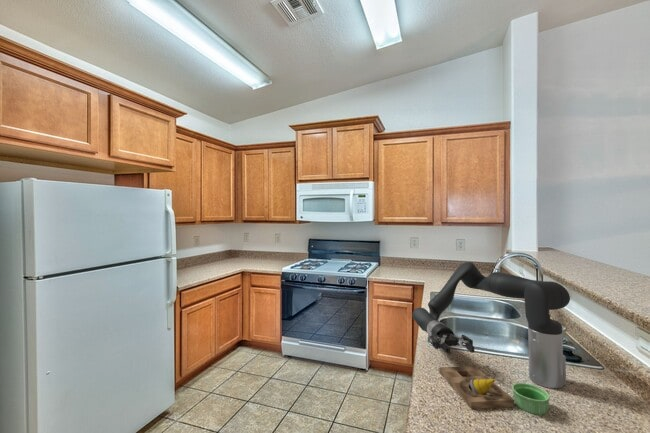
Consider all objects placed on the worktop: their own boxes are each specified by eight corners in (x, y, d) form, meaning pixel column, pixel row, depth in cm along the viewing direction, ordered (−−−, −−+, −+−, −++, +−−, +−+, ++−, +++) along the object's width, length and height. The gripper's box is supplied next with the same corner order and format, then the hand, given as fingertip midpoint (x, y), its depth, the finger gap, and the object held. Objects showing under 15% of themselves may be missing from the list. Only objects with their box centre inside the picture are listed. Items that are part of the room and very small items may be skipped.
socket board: (474, 371, 106) (474, 365, 106) (514, 406, 86) (514, 399, 86) (439, 372, 105) (439, 367, 105) (471, 409, 85) (471, 402, 85)
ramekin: (531, 418, 81) (530, 402, 81) (505, 399, 90) (504, 384, 90) (558, 414, 82) (557, 398, 83) (530, 395, 91) (529, 381, 91)
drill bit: (476, 389, 95) (501, 376, 90) (478, 405, 91) (504, 393, 86) (462, 379, 95) (486, 366, 90) (463, 394, 91) (489, 381, 86)
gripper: (457, 341, 119) (481, 360, 103) (422, 342, 118) (441, 362, 102) (456, 322, 119) (480, 338, 103) (422, 323, 118) (441, 340, 102)
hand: (461, 350), depth 102 cm, fingers open, 8 cm apart
